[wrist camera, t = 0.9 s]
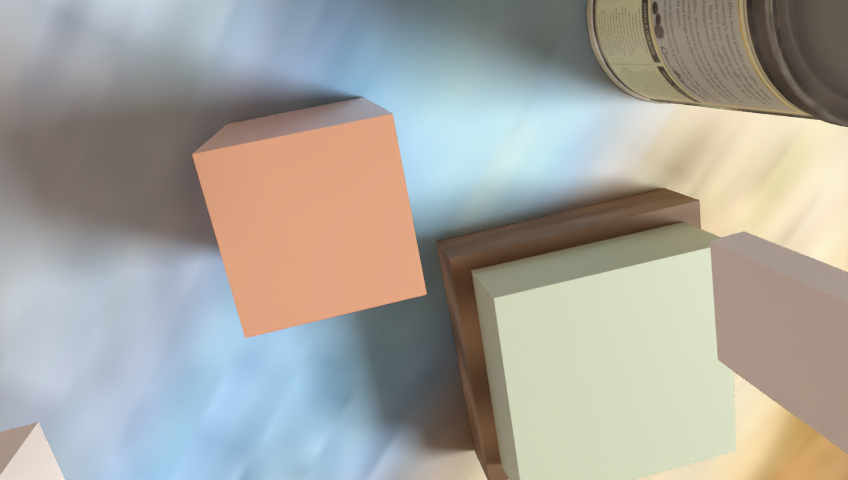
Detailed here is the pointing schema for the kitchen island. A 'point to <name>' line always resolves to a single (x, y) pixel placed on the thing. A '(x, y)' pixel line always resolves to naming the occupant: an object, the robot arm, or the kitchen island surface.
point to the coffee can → (728, 53)
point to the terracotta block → (311, 214)
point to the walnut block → (524, 243)
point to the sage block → (606, 358)
